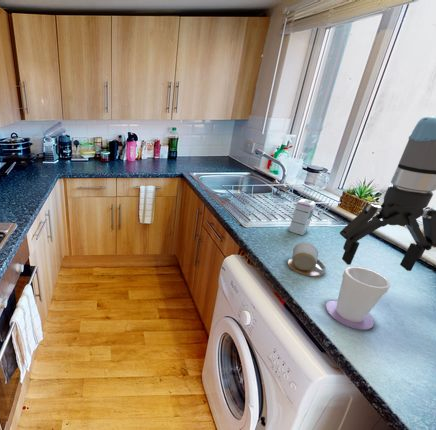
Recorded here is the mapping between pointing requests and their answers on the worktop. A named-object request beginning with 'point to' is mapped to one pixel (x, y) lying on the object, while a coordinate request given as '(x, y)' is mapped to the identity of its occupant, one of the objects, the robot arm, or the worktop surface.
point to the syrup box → (302, 216)
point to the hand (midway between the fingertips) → (375, 264)
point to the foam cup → (360, 292)
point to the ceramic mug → (307, 257)
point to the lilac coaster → (363, 325)
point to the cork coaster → (305, 272)
